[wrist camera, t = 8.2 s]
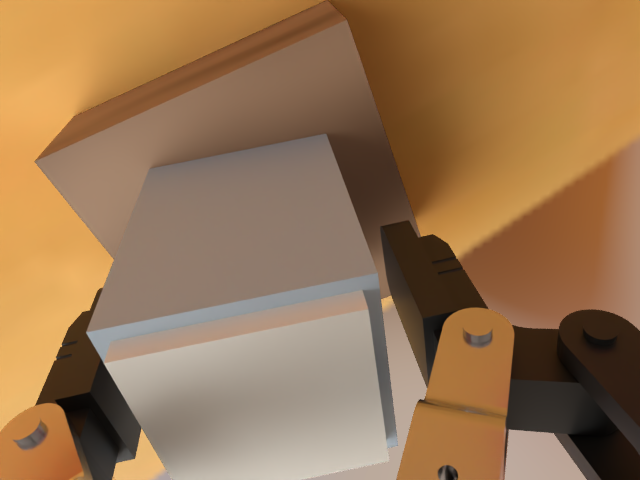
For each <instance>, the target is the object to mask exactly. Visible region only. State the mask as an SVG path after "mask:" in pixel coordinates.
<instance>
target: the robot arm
mask: <svg viewBox="0 0 640 480" xmlns="http://www.w3.org/2000/svg"><path fill="white" fill-rule="evenodd" d="M380 233H381V241H382V248H383V256H384V263H385V271H386V277H387V282H388V286H389V289H390V293H391V296H392V299H393V301H394V304H395V306H396V309H397V311H398V314H399V316H400V319H401V322H402V324H403V327H404V329H405V332H406V334H407V337H408V340H409V342H410V345H411V348H412V350H413V353H414V355H415V358H416V361H417V363H418V366H419V368H420V370H421V373H422V376H423V378H424V381H425V384H426V386H427V392H426V396H425V399H424V400H421V399H420V400H419V401H418V402H417V405H416V407H415V410H414V414H413V418H412V421H411V425H410V429H409V433H408V437H407V441H406V444H405V448H404V452H403V456H402V460H401V464H400V468H399V471H398V475H397V480H504V479H505V467H506V457H507V446H508V434H509V429H511V430H524V431H536V432H549V433H554V434H555V436H556V437H557V438H558V440H559V441H560V443H561V444H562V445H563V447H564V448H565V450H566V451H567V452H568V453H569V455H570V457H571V458H572V459H573V461H574V462H575V464H576V465H577V466H578V468H579V469H580V471H581V472H582V473H583V475H584V476H585V478H586V479H587V480H640V331H639V330H638V329H637V328H636V327H635V326H634V325H633V324H631V323H630V322H629V321H627V320H626V319H624V318H622V317H620V316H618V315H615V314H613V313H610V312H606V311H602V310H601V311H600V310H581V311H576V312H573V313H571V314H569V315H567V316H566V317H565V318H564V319H563V320H562V321H561V323H560V326H559V329H532V328H523V327H517V326H514V325H511V323H510V322H509V321H508V319H506V318H505V317H504V316H503V315H501V314H499V313H497V312H495V311H493V310H489V309H488V307H487V306H486V304H485V303H484V301H483V299H482V298H481V296H480V295H479V293H478V291H477V290H476V288H475V287H474V285H473V283H472V282H471V280H470V279H469V277H468V275H467V274H466V272H465V270H463V268H462V266H461V264H460V262H459V261H458V259H456V256H455V254H454V253H453V251H452V250H451V248H450V246H449V245H448V243H446V242H444V241H443V240H441V239H440V238H438V237H436V236H435V235H433V234H432V235H427V236H423V237H419V238H418V236H417V234H416V232H415V230H414V228H413V227H412V225H411V223H410V221H409V220H406V221H402V222H397V223H393V224H388V225H384V226H381V227H380ZM102 290H103V288H100V289H99V290H98V291H97V294H96V296H95V299H94V301H93V304H92V306H91V309H90V311H85V312H82V314H81V315H80V316H79V317H78V318H77V319H76V320H75V321H74V323H73V324H72V325H71V326H70V327H69V328H68V331H67V333H66V335H65V338H64V340H63V342H62V347H60V349H59V352H58V354H57V356H56V358H57V360H56V361H54V363H53V366H52V368H51V370H50V372H49V375H48V377H47V379H46V382H45V384H44V386H43V389H42V391H41V393H40V396H39V398H38V400H37V403H36V405H35V406H34V407H31V408H29V409H27V410H25V411H23V412H22V413H20V414H19V415H17V416H16V417H15V418H13V419H12V420H11V421H10V422H9V423H8V424H7V425H6V426H5V427H4V428H3V429H2V431H1V432H0V480H116V479H115V478H114V477H113V473H114V469H115V465H116V463H118V462H122V461H127V460H131V459H135V456H136V451H137V447H138V442H139V437H140V432H141V426H140V424H139V423H138V421H137V419H136V417H135V416H134V414H133V412H132V411H131V409H130V407H129V406H128V404H127V402H126V400H125V399H124V397H123V395H122V394H121V392H120V390H119V389H118V387H117V385H116V383H115V382H114V380H113V378H112V377H111V375H110V373H109V372H108V370H107V368H106V366H105V365H104V362H103V361H102V359H101V357H100V355H99V354H98V352H97V350H96V349H95V347H94V345H93V344H92V342H91V340H90V338H89V337H88V335H87V333H86V331H87V329H88V326H89V323H90V321H91V318H92V316H93V313H94V310H95V308H96V305H97V303H98V300H99V298H100V295H101V292H102Z"/></svg>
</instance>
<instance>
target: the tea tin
mask: <svg viewBox="0 0 640 480" xmlns="http://www.w3.org/2000/svg"><path fill="white" fill-rule="evenodd" d="M86 333H87V335H88V337H89V338H90V340H91V342H92V344H93V345H94V347H95V349H96V350H97V352H98V354H99V355H100V357H101V359H102V361H103V362H104V365H105V366H106V368H107V370H108V372H109V373H110V375H111V377H112V378H113V380H114V382H115V383H116V385H117V387H118V389H119V390H120V392H121V394H122V395H123V397H124V399H125V400H126V402H127V404H128V406H129V407H130V409H131V411H132V412H133V414H134V416H135V417H136V419H137V421H138V423H139V424H140V426H141V428H142V429H143V431H144V433H145V434H146V436H147V438H148V440H149V441H150V443H151V445H152V446H153V448H154V450H155V451H156V453H157V455H158V457H159V458H160V460H161V462H162V463H163V465H164V467H165V468H166V470H167V472H168V473H169V475H170V477H171V479H172V480H303V479H308V478H312V477H317V476H322V475H327V474H332V473H336V472H341V471H345V470H351V469H355V468H360V467H365V466H369V465H374V464H379V463H383V462H388V461H389V455H388V448H390V447H395V446H398V441H397V432H396V424H395V415H394V407H393V398H392V390H391V382H390V373H389V364H388V356H387V347H386V338H385V330H384V321H383V313H382V304H381V296H380V287H379V279H378V272H377V269H376V267H375V264H374V261H373V258H372V256H371V253H370V250H369V248H368V245H367V242H366V240H365V237H364V234H363V232H362V229H361V226H360V223H359V221H358V218H357V215H356V213H355V210H354V207H353V205H352V202H351V199H350V196H349V194H348V191H347V188H346V186H345V183H344V180H343V178H342V175H341V172H340V170H339V167H338V164H337V161H336V159H335V156H334V153H333V151H332V148H331V145H330V143H329V140H328V137H327V134H321V135H316V136H311V137H306V138H301V139H296V140H291V141H286V142H281V143H276V144H271V145H266V146H261V147H256V148H251V149H246V150H241V151H236V152H231V153H226V154H221V155H216V156H211V157H206V158H201V159H196V160H191V161H186V162H181V163H176V164H171V165H166V166H161V167H156V168H151V169H149V171H148V173H147V176H146V178H145V181H144V184H143V186H142V189H141V191H140V194H139V196H138V199H137V202H136V204H135V207H134V209H133V212H132V215H131V217H130V220H129V222H128V225H127V228H126V230H125V233H124V235H123V238H122V241H121V243H120V246H119V248H118V251H117V253H116V256H115V259H114V261H113V264H112V266H111V269H110V272H109V274H108V277H107V279H106V282H105V285H104V287H103V290H102V292H101V295H100V298H99V300H98V303H97V305H96V308H95V310H94V313H93V316H92V318H91V321H90V323H89V326H88V329H87V331H86Z"/></svg>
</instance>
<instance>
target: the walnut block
mask: <svg viewBox="0 0 640 480" xmlns="http://www.w3.org/2000/svg"><path fill="white" fill-rule="evenodd" d="M321 134H327V137H328V140H329V143H330V145H331V148H332V151H333V153H334V156H335V159H336V161H337V164H338V167H339V170H340V172H341V175H342V178H343V180H344V183H345V186H346V188H347V191H348V194H349V196H350V199H351V202H352V205H353V207H354V210H355V213H356V215H357V218H358V221H359V223H360V226H361V229H362V232H363V234H364V237H365V240H366V242H367V245H368V248H369V250H370V253H371V256H372V258H373V261H374V264H375V267H376V269H377V272H378V279H379V287H380V296H381V299H383V298H386V297H388V296H391V293H390V289H389V286H388V282H387V277H386V271H385V263H384V256H383V248H382V241H381V233H380V227H381V226H384V225H388V224H393V223H397V222H402V221H406V220H409V221H410V223H411V225H412V227H413V228H414V230H415V232H416V234H417V236H418V238H419V237H421V236H420V233H419V230H418V227H417V224H416V221H415V218H414V215H413V212H412V209H411V206H410V203H409V200H408V197H407V195H406V192H405V189H404V186H403V183H402V180H401V177H400V174H399V171H398V168H397V165H396V162H395V159H394V156H393V153H392V150H391V147H390V145H389V142H388V139H387V136H386V133H385V130H384V127H383V124H382V121H381V118H380V115H379V112H378V109H377V106H376V103H375V100H374V98H373V95H372V92H371V89H370V86H369V83H368V80H367V77H366V74H365V71H364V68H363V65H362V62H361V59H360V56H359V53H358V50H357V48H356V45H355V42H354V39H353V36H352V33H351V30H350V27H349V24H348V21H347V19H346V18H345V17H344V16H343V15H342V14H341V13H340V12H339V11H338V10H337V9H336V8H335V7H334V6H333V5H332V4H331V3H330V2H329V1H328V0H326V1H324V2H321V3H319V4H317V5H315V6H313V7H311V8H308V9H306V10H304V11H302V12H300V13H298V14H295V15H293V16H291V17H289V18H287V19H285V20H282V21H280V22H278V23H276V24H274V25H272V26H269V27H267V28H265V29H263V30H261V31H259V32H256V33H254V34H252V35H250V36H248V37H246V38H243V39H241V40H239V41H237V42H235V43H232V44H230V45H228V46H226V47H224V48H222V49H219V50H217V51H215V52H213V53H211V54H209V55H206V56H204V57H202V58H200V59H198V60H196V61H193V62H191V63H189V64H187V65H185V66H183V67H180V68H178V69H176V70H174V71H172V72H170V73H167V74H165V75H163V76H161V77H159V78H157V79H154V80H152V81H150V82H148V83H146V84H144V85H141V86H139V87H137V88H135V89H133V90H131V91H128V92H126V93H124V94H122V95H120V96H118V97H115V98H113V99H111V100H109V101H107V102H105V103H102V104H100V105H98V106H96V107H94V108H92V109H89V110H87V111H85V112H83V113H81V114H79V115H76V116H74V117H73V118H72V119H71V120H70V122H69V123H68V124H67V125H66V126H65V127H64V128H63V130H62V131H61V132H60V133H59V134H58V135H57V136H56V138H55V139H54V140H53V141H52V142H51V143H50V144H49V146H48V147H47V148H46V149H45V150H44V151H43V152H42V154H41V155H40V156H39V157H38V158H37V159H36V160H35V161H34V162H35V163H36V164H37V165H38V167H39V168H40V169H41V170H42V172H43V173H44V174H45V175H46V176H47V178H48V179H49V180H50V181H51V183H52V184H53V185H54V186H55V188H56V189H57V190H58V191H59V192H60V194H61V195H62V196H63V197H64V199H65V200H66V201H67V202H68V204H69V205H70V206H71V207H72V208H73V210H74V211H75V212H76V213H77V215H78V216H79V217H80V218H81V220H82V221H83V222H84V223H85V224H86V226H87V227H88V228H89V229H90V231H91V232H92V233H93V234H94V236H95V237H96V238H97V239H98V240H99V242H100V243H101V244H102V245H103V247H104V248H105V249H106V250H107V252H108V253H109V254H110V255H111V257H112V258H113V259H115V256H116V253H117V251H118V248H119V246H120V243H121V241H122V238H123V235H124V233H125V230H126V228H127V225H128V222H129V220H130V217H131V215H132V212H133V209H134V207H135V204H136V202H137V199H138V196H139V194H140V191H141V189H142V186H143V184H144V181H145V178H146V176H147V173H148V171H149V169H151V168H156V167H161V166H166V165H171V164H176V163H181V162H186V161H191V160H196V159H201V158H206V157H211V156H216V155H221V154H226V153H231V152H236V151H241V150H246V149H251V148H256V147H261V146H266V145H271V144H276V143H281V142H286V141H291V140H296V139H301V138H306V137H311V136H316V135H321Z"/></svg>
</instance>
